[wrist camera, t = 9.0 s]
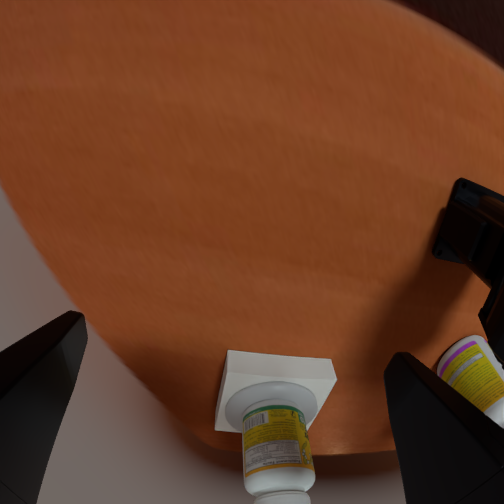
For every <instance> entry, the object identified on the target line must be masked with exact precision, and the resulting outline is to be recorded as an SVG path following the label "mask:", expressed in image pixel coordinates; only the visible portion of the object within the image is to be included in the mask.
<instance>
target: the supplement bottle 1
mask: <svg viewBox="0 0 504 504" xmlns="http://www.w3.org/2000/svg"><path fill="white" fill-rule="evenodd" d="M242 443H243V470H244V486H245V488H246V490H247V491H248V492H249V493H250V494H252V495H253V496H256V497H257V498H256V499H255V502H254V504H311V502H310V497H309V496H308V494H307V493H305V491H307V490H309V489H310V488H311V487H312V485H313V484H314V481H315V472H314V466H313V461H312V455H311V450H310V444H309V438H308V434H307V428H306V423H305V417H304V413H303V411H302V409H301V408H300V407H299V406H298V405H297V404H296V403H294V402H292V401H288V400H283V399H270V400H264V401H261V402H258V403H255V404H253V405H251V406H250V407H249V408H247V409H246V410H245V412H244V413H243V416H242Z"/></svg>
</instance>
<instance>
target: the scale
mask: <svg viewBox="0 0 504 504" xmlns="http://www.w3.org/2000/svg"><path fill="white" fill-rule="evenodd" d="M336 381H337V378H336V375H335V371H334V368H333V365H332V362H331V359H323V358H307V357H293V356H281V355H271V354H260V353H251V352H242V351H234V350H228V351H227V356H226V361H225V366H224V371H223V376H222V381H221V386H220V391H219V396H218V401H217V406H216V412H215V430H217V431H228V432H239V433H242V416H243V413H244V412H245V410H246V409H247V408H249V407H250V406H251V405H253V404H255V403H258V402H261V401H264V400H270V399H283V400H288V401H292V402H294V403H296V404H297V405H298V406H299V407H300V408H301V409H302V411H303V413H304V417H305V423H306V428H307V430H308V429H309V427H310V425H311V424H312V422H313V420H314V419H315V417H316V415H317V414H318V412H319V410H320V409H321V407H322V405H323V404H324V402H325V400H326V398H327V397H328V395H329V393H330V391H331V390H332V388H333V386H334V384H335V382H336Z"/></svg>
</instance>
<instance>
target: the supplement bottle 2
mask: <svg viewBox="0 0 504 504" xmlns="http://www.w3.org/2000/svg"><path fill="white" fill-rule="evenodd" d="M437 375H438V376H439V377H440V378H441V379H443V380H444V381H445V382H446V383H448V384H449V385H450V386H451V387H453V388H454V389H455V390H456V391H458V392H459V393H460V394H461V395H462V396H464V397H465V398H466V399H467V400H469V401H470V402H471V403H472V404H474V405H475V406H476V407H477V408H478V409H480V410H481V411H482V412H483V413H485V415H487V416H488V417H489V418H491V419H492V420H493V421H494V422H496V423H497V424H498V425H499V426H501V427H502V428H503V429H504V370H503V369H502V365H501V364H500V363H499V362H498V361H497V359H496V358H495V356H494V354H493V352H492V350H491V348H490V347H489V345H488V343H487V342H486V341H485V340H484V338H482V337H481V336H478V335H472V336H468V337H465V338H463V339H461V340H460V341H458V342H457V343H455V344H454V345H453V346H452V347H451V348H450V349H449V350H448V351H447V352H446V353H445V354H444V355H443V357H442V358H441V360H440V362H439V364H438V367H437Z"/></svg>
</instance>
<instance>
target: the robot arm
mask: <svg viewBox="0 0 504 504" xmlns="http://www.w3.org/2000/svg"><path fill="white" fill-rule="evenodd" d="M462 183H464V184H463V186H462ZM438 251H439V252H438ZM437 252H438V253H437ZM432 254H433V256H434V257H435V258H437V259H442V260H447V261H452V262H456V263H461V264H465V265H466V266H467V267H468V268H469V269H471V270H472V271H473V272H474V273H475V274H476V275H477V276H478V277H479V278H480V279H481V280H482V281H483V282H484V283H485V284H486V285H487V286H488V287H489V288H490V289H491V290H490V292H489V295H488V297H487V299H486V301H485V304H484V306H483V308H481V309H480V312H479V314H478V317H479V319H480V321H481V324H482V326H483V329H484V331H485V334H486V336H487V339H488V345H489V347H490V348H491V350H492V352H493V354H494V356H495V358H496V359H497V361H498V362H499V363H500V364H501V365H502V369H503V370H504V196H503V195H501V194H499V193H496V192H494V191H492V190H490V189H488V188H486V187H483V186H481V185H479V184H477V183H474V182H472V181H470V180H467V179H465V178H459V179H458V180H457V182H456V185H455V189H454V192H453V195H452V198H451V201H450V204H449V207H448V210H447V212H446V215H445V218H444V221H443V224H442V226H441V229H440V232H439V234H438V237H437V239H436V242H435V244H434V247H433V249H432ZM87 336H88V335H87V329H86V323H85V317H84V315H83V314H82V313H81V312H76V311H72V310H70V311H68V312H66V313H64V314H62V315H61V316H59V317H57V318H55V319H54V320H52V321H50V322H49V323H47V324H46V325H44V326H42V327H41V328H39V329H37V330H36V331H34V332H32V333H30V334H29V335H27V336H25V337H24V338H22V339H20V340H19V341H17V342H15V343H14V344H12V345H11V346H9V347H7V348H6V349H4V350H3V351H1V352H0V504H36V503H37V499H38V495H39V491H40V488H41V484H42V481H43V477H44V474H45V470H46V467H47V464H48V461H49V457H50V454H51V451H52V448H53V445H54V442H55V439H56V436H57V433H58V430H59V427H60V425H61V422H62V419H63V416H64V414H65V411H66V408H67V405H68V403H69V400H70V397H71V395H72V392H73V390H74V387H75V383H76V380H77V376H78V372H79V369H80V365H81V362H82V358H83V355H84V351H85V348H86V344H87V339H88V337H87ZM384 384H385V391H386V398H387V405H388V413H389V419H390V424H391V428H392V433H393V437H394V442H395V446H396V451H397V456H398V460H399V465H400V471H401V476H402V481H403V486H404V493H405V498H406V504H504V429H503V428H502V427H501V426H499V425H498V424H497V423H496V422H494V421H493V420H492V419H491V418H489V417H488V416H487V415H485V413H483V412H482V411H481V410H480V409H478V408H477V407H476V406H475V405H474V404H472V403H471V402H470V401H469V400H467V399H466V398H465V397H464V396H462V395H461V394H460V393H459V392H458V391H456V390H455V389H454V388H453V387H451V386H450V385H449V384H448V383H446V382H445V381H444V380H443V379H441V378H440V377H439V376H438V375H436V374H435V373H434V372H433V371H431V370H430V369H429V368H428V367H426V366H425V365H424V364H423V363H421V362H420V361H419V360H418V359H416V358H415V357H414V356H413V355H411V354H410V353H408V352H397V353H395V354H394V356H393V357H392V359H391V361H390V362H389V364H388V366H387V367H386V369H385V371H384Z"/></svg>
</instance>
